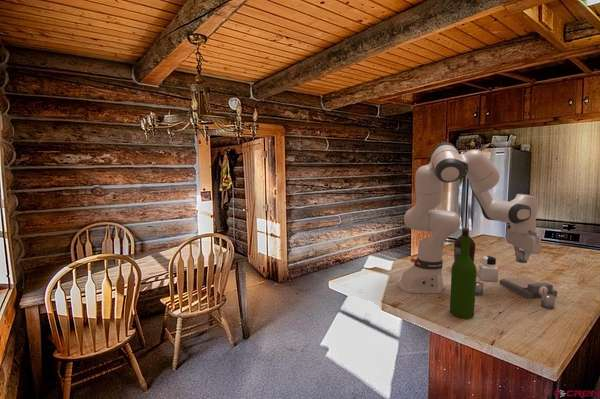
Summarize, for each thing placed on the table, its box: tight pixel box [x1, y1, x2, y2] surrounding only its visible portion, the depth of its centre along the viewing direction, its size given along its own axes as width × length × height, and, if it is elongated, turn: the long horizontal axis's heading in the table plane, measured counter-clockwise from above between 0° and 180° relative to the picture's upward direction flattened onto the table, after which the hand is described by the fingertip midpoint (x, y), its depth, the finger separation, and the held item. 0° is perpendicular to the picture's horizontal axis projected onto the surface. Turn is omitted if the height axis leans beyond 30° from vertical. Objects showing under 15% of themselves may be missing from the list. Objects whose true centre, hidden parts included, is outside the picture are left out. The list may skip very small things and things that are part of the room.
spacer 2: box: [515, 249, 528, 264], centre depth 148 cm, size 4×4×5 cm
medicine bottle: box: [478, 255, 499, 283], centre depth 168 cm, size 7×7×12 cm
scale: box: [499, 278, 558, 299], centre depth 153 cm, size 15×18×6 cm
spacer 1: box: [475, 281, 484, 296], centre depth 150 cm, size 4×4×5 cm
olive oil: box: [453, 227, 476, 264], centre depth 178 cm, size 11×11×25 cm
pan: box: [502, 276, 540, 289], centre depth 155 cm, size 13×12×1 cm
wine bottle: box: [449, 235, 478, 320], centre depth 129 cm, size 9×9×32 cm
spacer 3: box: [540, 294, 556, 310], centre depth 136 cm, size 4×4×5 cm
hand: (521, 257), depth 149 cm, fingers closed on spacer 2, 4 cm apart
